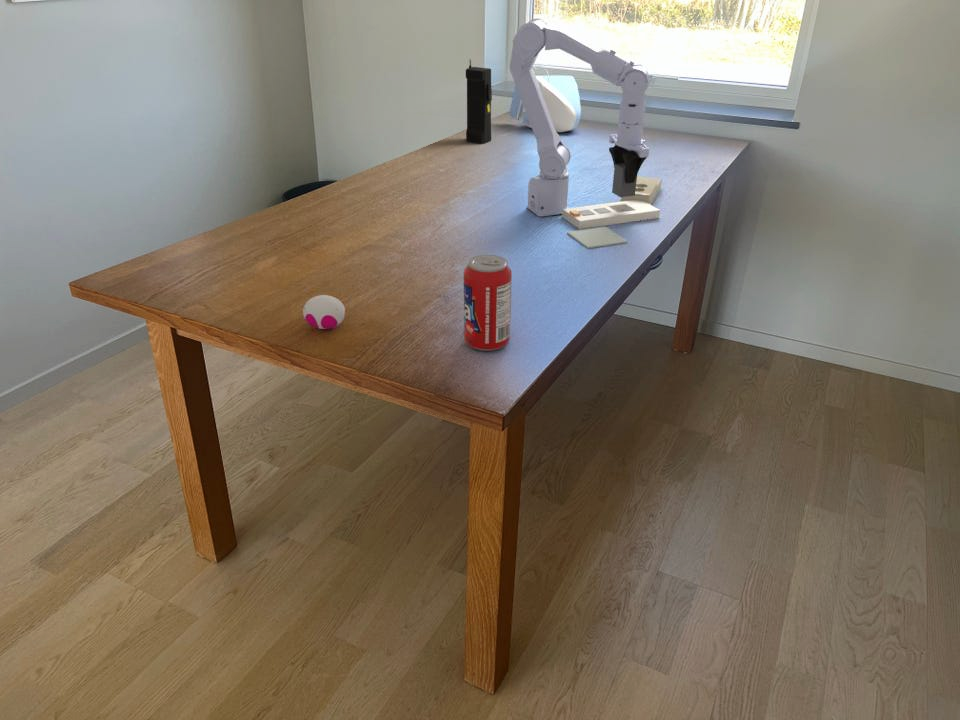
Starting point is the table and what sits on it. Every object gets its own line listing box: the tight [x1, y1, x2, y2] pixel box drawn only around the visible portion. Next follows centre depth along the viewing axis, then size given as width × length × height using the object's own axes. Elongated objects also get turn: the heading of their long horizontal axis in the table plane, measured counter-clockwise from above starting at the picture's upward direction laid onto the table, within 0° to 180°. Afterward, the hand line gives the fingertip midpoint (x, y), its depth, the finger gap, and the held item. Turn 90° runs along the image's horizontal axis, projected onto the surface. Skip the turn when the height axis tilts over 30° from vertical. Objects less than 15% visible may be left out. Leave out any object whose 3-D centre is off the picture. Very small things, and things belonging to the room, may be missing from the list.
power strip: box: [561, 200, 661, 230], centre depth 183 cm, size 22×9×3 cm, turn 111°
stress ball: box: [302, 294, 346, 330], centre depth 132 cm, size 8×8×7 cm
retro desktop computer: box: [508, 65, 582, 133], centre depth 257 cm, size 25×23×16 cm
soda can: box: [463, 254, 513, 352], centre depth 125 cm, size 8×8×15 cm
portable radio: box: [465, 60, 493, 144], centre depth 241 cm, size 8×6×25 cm
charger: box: [611, 163, 638, 198], centre depth 180 cm, size 4×4×7 cm
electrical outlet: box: [620, 175, 663, 205], centre depth 197 cm, size 7×4×18 cm
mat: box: [566, 226, 628, 250], centre depth 172 cm, size 10×10×1 cm
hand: (624, 179), depth 180 cm, fingers closed on charger, 4 cm apart
